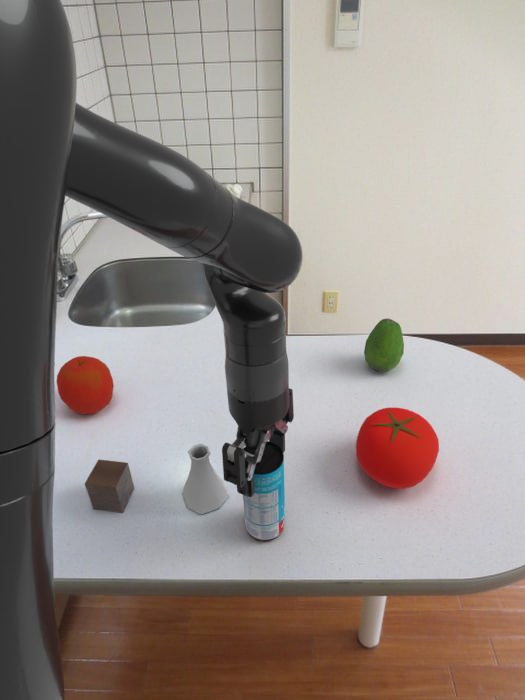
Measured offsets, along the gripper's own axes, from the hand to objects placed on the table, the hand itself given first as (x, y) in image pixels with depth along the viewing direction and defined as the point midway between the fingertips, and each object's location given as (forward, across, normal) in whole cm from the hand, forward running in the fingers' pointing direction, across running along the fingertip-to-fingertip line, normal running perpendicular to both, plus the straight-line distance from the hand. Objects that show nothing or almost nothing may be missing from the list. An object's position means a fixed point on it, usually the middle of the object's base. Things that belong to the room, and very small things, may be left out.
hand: (262, 471), depth 72 cm
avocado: (+12, -46, +2) cm, 48 cm away
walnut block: (+12, +7, -24) cm, 28 cm away
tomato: (+12, -20, +13) cm, 27 cm away
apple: (+12, -8, -44) cm, 46 cm away
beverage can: (+12, 0, 0) cm, 12 cm away
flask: (+12, 0, -11) cm, 16 cm away
